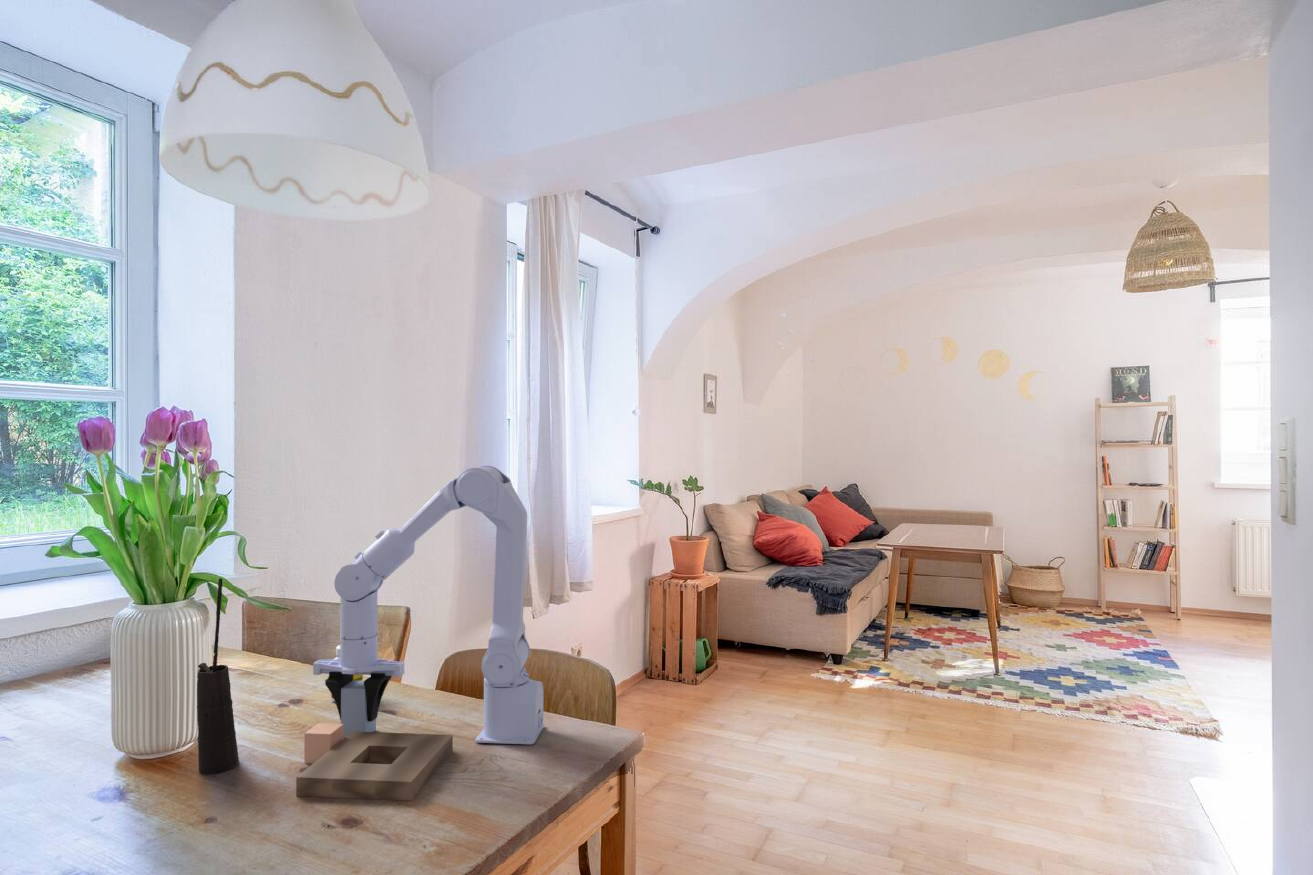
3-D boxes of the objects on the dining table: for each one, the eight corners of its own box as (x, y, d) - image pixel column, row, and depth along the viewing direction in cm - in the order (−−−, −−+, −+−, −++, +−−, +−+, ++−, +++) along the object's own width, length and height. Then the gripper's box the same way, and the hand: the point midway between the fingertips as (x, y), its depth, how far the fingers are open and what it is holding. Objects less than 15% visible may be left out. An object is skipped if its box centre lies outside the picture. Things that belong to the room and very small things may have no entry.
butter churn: (166, 765, 111) (167, 575, 111) (237, 746, 118) (238, 567, 118) (184, 785, 105) (185, 584, 105) (258, 764, 112) (258, 575, 112)
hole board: (452, 750, 117) (452, 734, 117) (411, 800, 101) (411, 781, 101) (352, 747, 118) (352, 731, 118) (296, 795, 102) (296, 777, 102)
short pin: (343, 753, 116) (343, 723, 116) (330, 764, 112) (330, 734, 112) (318, 752, 116) (318, 722, 116) (304, 763, 112) (304, 733, 112)
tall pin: (376, 729, 125) (376, 681, 125) (364, 738, 121) (365, 689, 121) (352, 728, 125) (352, 680, 125) (340, 738, 121) (341, 688, 121)
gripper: (303, 640, 120) (302, 726, 120) (391, 643, 119) (391, 729, 119) (325, 629, 127) (325, 710, 127) (409, 631, 126) (409, 713, 126)
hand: (358, 718), depth 123 cm, fingers closed on tall pin, 4 cm apart
